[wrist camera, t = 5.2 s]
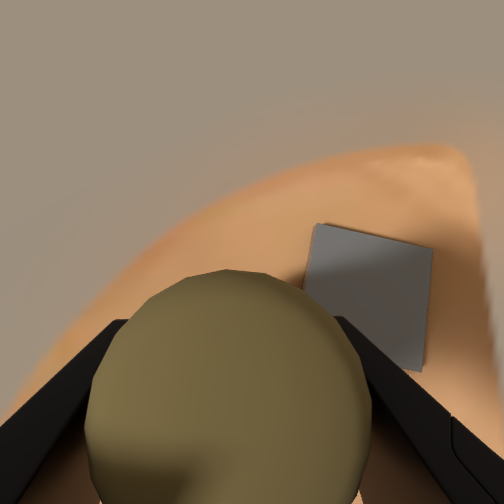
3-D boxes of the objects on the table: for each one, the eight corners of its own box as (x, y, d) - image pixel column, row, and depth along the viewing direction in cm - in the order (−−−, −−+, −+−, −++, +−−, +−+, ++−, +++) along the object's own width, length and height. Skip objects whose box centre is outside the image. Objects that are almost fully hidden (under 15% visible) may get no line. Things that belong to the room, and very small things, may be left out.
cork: (305, 309, 16) (456, 282, 6) (277, 442, 15) (404, 742, 4) (184, 278, 16) (102, 188, 5) (145, 409, 15) (-67, 631, 4)
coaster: (413, 370, 22) (421, 372, 21) (292, 344, 22) (295, 345, 21) (424, 252, 23) (433, 249, 22) (313, 227, 23) (317, 223, 22)
